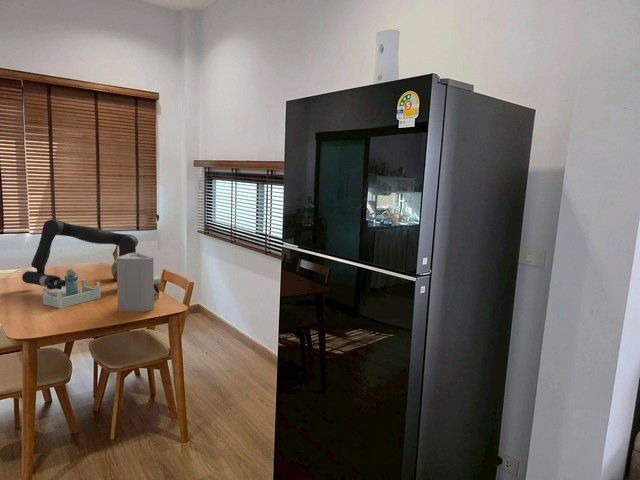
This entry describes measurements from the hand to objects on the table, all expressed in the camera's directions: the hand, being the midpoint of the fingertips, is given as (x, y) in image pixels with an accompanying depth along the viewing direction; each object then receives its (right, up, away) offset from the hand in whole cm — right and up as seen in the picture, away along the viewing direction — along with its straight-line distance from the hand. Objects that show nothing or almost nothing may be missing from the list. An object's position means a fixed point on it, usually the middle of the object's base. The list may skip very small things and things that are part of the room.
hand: (68, 285), depth 229 cm
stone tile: (-10, -6, +11) cm, 16 cm away
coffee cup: (+41, -9, +12) cm, 44 cm away
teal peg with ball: (+2, -8, 0) cm, 8 cm away
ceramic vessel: (+4, -1, +49) cm, 49 cm away
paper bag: (+39, -11, -7) cm, 41 cm away
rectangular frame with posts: (+2, -8, 0) cm, 8 cm away
